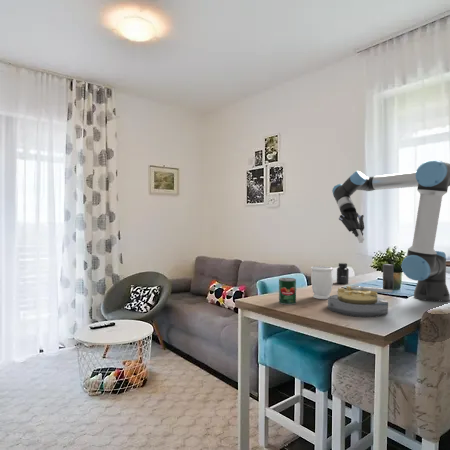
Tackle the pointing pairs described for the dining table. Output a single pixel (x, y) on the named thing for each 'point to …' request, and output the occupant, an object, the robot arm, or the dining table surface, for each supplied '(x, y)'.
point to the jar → (321, 281)
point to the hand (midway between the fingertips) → (361, 240)
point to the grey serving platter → (358, 308)
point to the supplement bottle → (342, 274)
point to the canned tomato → (287, 291)
